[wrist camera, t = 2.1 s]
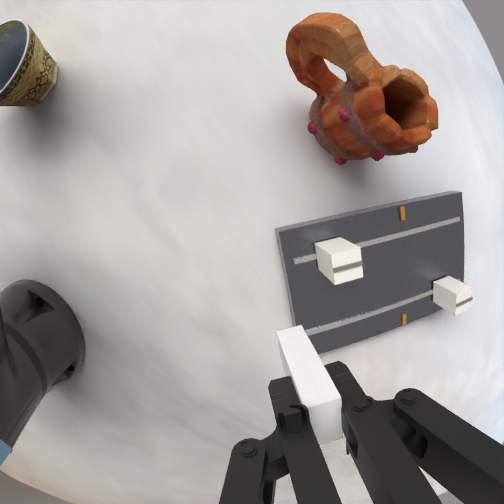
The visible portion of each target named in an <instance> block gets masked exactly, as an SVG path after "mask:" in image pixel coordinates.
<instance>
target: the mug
mask: <svg viewBox="0 0 504 504" xmlns="http://www.w3.org/2000/svg"><path fill="white" fill-rule="evenodd" d="M286 55H287V58H288V61H289V64H290V66H291V68H292V70H293V72H294V74H295V76H296V77H297V80H298V81H299V82H300V83H302V84H303V85H305V86H307V87H308V88H310V89H312V90H313V91H314V92H316V93H317V98H316V99H315V100H314V101H313V103H312V105H311V109H310V112H309V125H308V131H309V132H310V133H312V134H314V135H315V137H316V139H317V140H318V142H319V143H320V144H321V146H323V147H324V148H325V149H326V150H327V151H328V152H330V153H331V154H333V155H334V156H335V162H336V163H337V164H339V165H342V164H345V163H346V162H347V161H348V160H362V159H365V158H368V157H372V158H373V159H374V160H375V161H379V160H380V159H382V158H383V157H384V155H402V154H405V153H408V152H409V153H416V152H417V150H418V145H421V144H423V143H425V142H426V141H427V140H428V139H430V138H431V136H432V134H431V131H432V130H435V129H438V108H437V104H436V101H435V100H434V99H433V98H432V97H431V96H429V91H428V86H427V85H426V83H425V81H424V80H423V79H422V78H421V77H420V76H419V75H418V74H416V73H415V72H414V71H412V70H409V69H406V68H405V69H399V68H398V67H397V66H395V65H390V66H385V67H383V66H381V65H380V63H379V62H378V61H377V60H376V59H375V58H374V57H373V55H372V54H371V53H370V51H369V50H368V48H367V46H366V43H365V41H364V39H363V36H362V34H361V32H360V30H359V28H358V26H357V25H356V24H355V23H354V22H353V21H351V20H350V19H348V18H346V17H344V16H343V15H341V14H336V13H329V12H327V13H315V14H312V15H309V16H308V17H307V18H305V19H304V20H303V21H301V22H300V23H298V24H297V25H295V26H294V27H293V28H292V29H291V30H290V32H289V34H288V37H287V40H286ZM323 58H324V59H327V60H328V61H330V62H331V63H333V64H335V65H337V66H338V67H340V68H341V69H343V70H344V71H345V72H346V77H347V81H346V82H344V81H342V80H341V79H339V78H338V77H337V76H336V75H334V74H333V73H332V72H331V71H330V70H329V69H328V67H327V65H326V63H325V62H324V59H323Z"/></svg>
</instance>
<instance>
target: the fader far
mask: <svg viewBox="0 0 504 504" xmlns="http://www.w3.org/2000/svg"><path fill="white" fill-rule="evenodd" d="M471 300H472V287H471V286H469V285H467V284H465V283H463V282H461V281H459V280H457V279H455V278H453V277H451V276H447V277H445V278H442V279H439V280H437V281H434V287H433V302H434V303H436V304H437V305H439V306H440V307H442V308H444V309H445V310H447V311H448V312H450V313H451V314H453V315H454V316H456V315H458V314H460V313H462V312H464V311H466V310H468V309H470V308H471Z"/></svg>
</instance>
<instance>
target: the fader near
mask: <svg viewBox="0 0 504 504" xmlns="http://www.w3.org/2000/svg"><path fill="white" fill-rule="evenodd" d="M315 249H316V256H317V262H318V269H319V271H321V272H322V273H323V274H324V275H325V276H326V277H327V278H328V279H329V280H330V281H331V282H332V283H333V284H334V285H337V284H341V283H344V282H348V281H351V280H355V279H358V278H362V277H363V268H362V265H363V261H362V258H361V249H360V247H359V246H357V245H355V244H353V243H351V242H349V241H347V240H345V239H343V238H341V237H339V238H334V239H330V240H326V241H322V242H318V243H315Z"/></svg>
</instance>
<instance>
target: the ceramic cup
mask: <svg viewBox="0 0 504 504" xmlns="http://www.w3.org/2000/svg"><path fill="white" fill-rule="evenodd" d="M57 72H58V65H57V64H56V62H55V61H54V60H53V59H52V57H51V56H50V55H49V53H48V52H47V51H46V50H45V48H44V47H43V45H42V44H41V42H40V40H39V38H38V37H37V35H36V34H35V33H34V31H33V30H32V29H31V28H30V26H29V25H28V24H27V23H26V22H25V21H24V20H21V19H11V20H8V21H5V22H3V23H2V24H0V106H29V105H32V104H35V103H38V102H41V101H43V100H44V99H45V97H46V96H47V95H48V93H49V92H50V91H51V89H52V88H53V87H54V86H55V84H56V81H57Z"/></svg>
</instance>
